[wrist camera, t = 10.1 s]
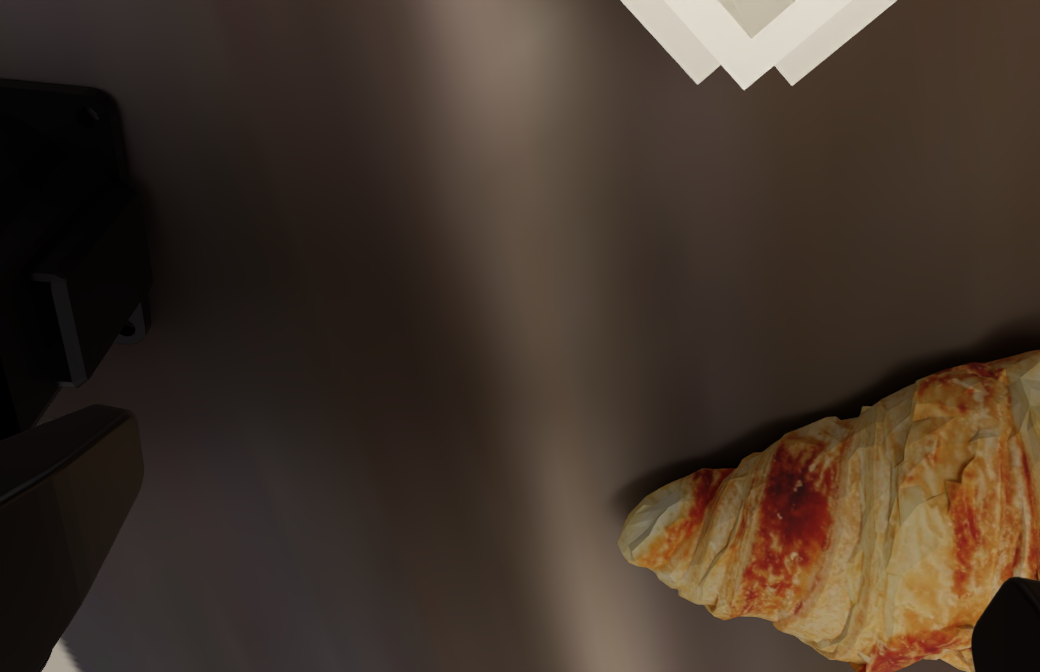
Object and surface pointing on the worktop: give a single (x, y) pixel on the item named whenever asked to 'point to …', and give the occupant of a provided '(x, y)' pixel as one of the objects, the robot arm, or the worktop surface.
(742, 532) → the croissant
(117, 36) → the worktop surface
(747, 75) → the carton
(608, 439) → the worktop surface
